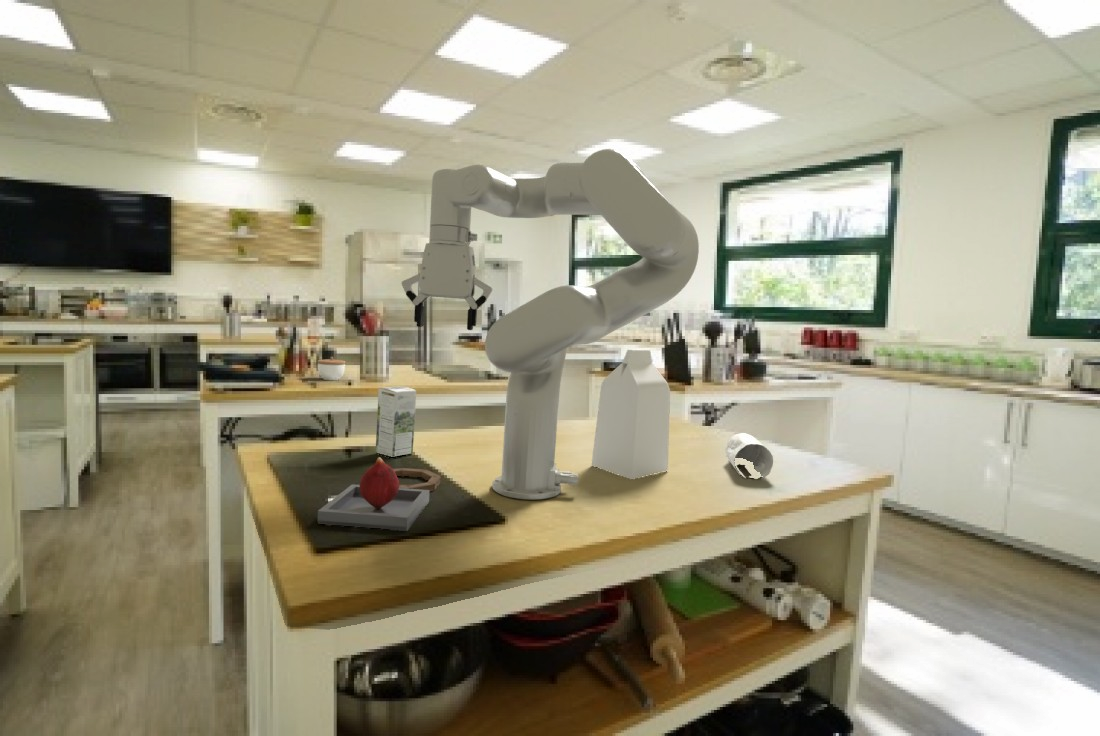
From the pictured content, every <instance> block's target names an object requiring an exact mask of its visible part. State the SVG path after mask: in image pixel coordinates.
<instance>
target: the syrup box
mask: <svg viewBox="0 0 1100 736" xmlns="http://www.w3.org/2000/svg"><path fill="white" fill-rule="evenodd" d="M377 392H378V395H377V412H376V413H377V414H376V415H377V416H376V417H377V418H376V434H375V435H376V436H375V453H376V452H377V453H380V454H384V455H388V456H391V457H395V456H400V455H406V454H411V455H413V454H414V439H415V437H414V436H415V421H416V404H417V390H416V389H414V388H411V387H408V386H392V387H391V386H389V387H378V391H377ZM406 456H407V455H406Z"/></svg>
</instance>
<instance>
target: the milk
mask: <svg viewBox="0 0 1100 736" xmlns="http://www.w3.org/2000/svg"><path fill="white" fill-rule="evenodd" d="M651 353H652V352H651V350H650V349H649V350H648V349H627V350H626V352H625V355H624V357H623V360H622V363H620V364H619V365H618V366H617V367H616V368H615V369H614V370H613V371H611V372H610V373H609V374H608V375H606V377H605V378H604V379H603V381H602V382H601V386H600V392H599V401H598V409H597V418H596V427H595V433H594V434H595V435H594V440H593V441H594V442H593V450H592V459H591V465H592V466H595V467H599V468H601V469H604V470H607V471H610V472H613V473H615V474H614V475H616V474H619V475H621V476H620V477H622V476H624V477H623V478H625V477H627V478H626V479H628V478H630V479H629V480H631V479H633V480H635V479H634V478H638V477H642V476H646V475H650V474H654V473H658V472H662V471H666V470H668V471H669V445H670V443H669V442H670V408H671V407H670V405H671V389H670V386H669V383H668V382H667V380H666V379H665V378H664V376H663V375H662V374H661V373H660V371H659V370H658V369H657V367H656V366H655V364H654V363H653V359H652V354H651ZM592 466H591V467H592ZM595 467H594V468H595ZM601 469H600V470H601ZM604 470H603V471H604ZM607 471H606V472H607ZM610 472H609V473H610ZM613 473H612V474H613ZM619 475H618V476H619ZM642 478H643V477H642ZM638 479H639V478H638Z"/></svg>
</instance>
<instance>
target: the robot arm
mask: <svg viewBox="0 0 1100 736" xmlns="http://www.w3.org/2000/svg"><path fill="white" fill-rule="evenodd" d="M430 196H431V200H430V217H429V218H430V219H429V220H430V221H429V240H428V242H427V243H426V242H425V245H424V251H423V254H422V259H421V265H420V266H421V267H420V273H418V274H415V275H413V276H411V277H409V278H406V279H404V280H402V281H401V286H402V288H403V291H404V292H405V295H406V297H407V298H408V299H409V300H410V302H411V303H412V304H413V305H414V314H413V316H414V317H413V321H414V323H416V327H419V328H421V327H424V326H425V311H426V307H425V305H424V303H425V301H427V300H428V298H429V297H431V298H432V297H433V298H445V299H459V300H461V299H463V300H465V302H466V303H467V304H468V305H469V309H467V319H466V320H467V321H466V325H467V326H466V330H468V331H472V330H473V329H474V327H477V320H478V319H477V318H478V317H477V315H478V309H479V308H481V306H482V305H484V304H485V303H486V302H487V300H488V299H489V297H490V295H491V293H492V292H493V287H492V286H491V285H488V284H487V283H485V282H484V281H481V280H480V279H478V278H477V277H476V259H475V251H474V247H472V246H470V245H471V243H472V242H474V241H475V242H477V241H478V234H477V233H474V232H472V231H471V220H472V218H471V217H472V208H474V209H477V210H479V211H482V212H485V213H489V214H491V215H493V216H497V217H501V218H508V219H509V218H512V219H513V218H515V219H522V218H523V219H536V218H539V219H540V218H546V217H554V216H556V215H558V216H559V215H567V216H568V215H576V216H577V215H579V216H581V215H583V216H585V215H586V216H589V215H590V216H592V215H593V216H601V217H602V218H603V219H604V220H605V221H606V223H608V224H609V225H610V227H611V228H612V230H614V231H615V233H617V235H618V236H619V237H620V238H621V239H622V240H623V241H624V242H625V243H626V245H628V246H629V248H631V250H633V251H634V252H635V253H636V254H637V255H638V256H641V259H639V260H638V261H637V262H635V263H633V264H631V265H629V266H626V267H624V268H621V269H619V270H617V271H616V272H614V273H612V274H611V275H609V276H607V277H605V278H603V279H601V280H599V281H598V282H594V283H593V284H591V285H588V286H578V285H571V284H569V285H568V284H567V285H560V286H557V287H554V288H552V289H549V290H547V291H545V292H543V293H541V294H539V295H538V296H536V297H534V298H533V299H531V300H529V301H527V302H526V303H523V304H522V305H520V306H518V307H516V308H515V309H512V310H511V311H509V312H507V313H506V314H504V315H503V316H501V317H500V318H499V319H497V320H496V321H494V323H492V325H491V327H489V329H488V331H487V334H486V337H485V338H484V339H485V340H484V350H485V354H486V357H487V359H488V361H489V362H490V363H491V364H492V365H493V366H494V367H495V368H497V369H498V370H500V371H503V372H506V373H510V375H509V378H508V382H507V388H506V399H505V413H504V427H503V430H504V432H503V446H502V447H503V448H502V462H501V463H502V466H501V476H500V475H499V476H498V477H495V478H494V479H493V480H492V487H491V488H492V489H493V491H495V492H496V493H497V494H499V495H500V496H501V495H502V496H504V497H508V498H512V499H518V500H531V501H533V500H547V499H550V498H554V497H557V496H558V495H559V494H561V492H562V484H565V485H566V484H567V485H569V486H570V485H571V486H572V485H573V486H578V485H579V476H580V475H579V474H577V473H573V471H561V470H560V469H557V463H556V462H555V460H556V459H555V458H556V445H557V444H556V443H557V431H558V417H559V415H558V414H559V403H560V393H561V391H560V390H561V381H562V376H563V370H564V365H565V361H566V356H567V349H568V348H569V347H572V346H574V345H575V346H579V345H589V344H592V343H595V342H597V341H600V340H601V339H602V338H604V337H606V336H607V335H610V334H611V333H613V332H615V331H617V330H619V329H621V328H622V327H625V326H627V325H628V324H630V323H632V322H634V321H636V320H637V319H639V318H641V317H643V316H645V315H646V314H649V313H650V312H652V311H653V310H656V309H658V308H659V307H661V306H663V305H664V304H666V303H668V302H670V301H671V300H672V299H674V298H675V297H676V296H677V295H679V293H680V292H682V290H683V289H685V287H686V286H687V284H688V283H689V282H690V281H691V279H692V276H693V274H694V273H695V270H696V269H697V268H696V267H697V263H698V259H699V254H700V253H699V251H700V250H699V249H700V248H699V246H700V245H699V244H700V243H699V238H698V233H697V231H696V228H695V226H694V225H693V223H692V222H691V220H689V219H688V218H687V217H686V216H685V215H684V214H683V213H682V212H681V211H680V210H678V208H676V206H674V205H673V204H672V203H671V202H670V201H669V200H668V199H667V198H666V197H665V196H664V195H663V194H662V193H661V192H660V190H658V189H657V187H655V185H654V184H652V182H650V180H649V179H648V178H647V177H646V175H645V173H644V171H643V170H642V169H641V168H640V166H638V164H636V162H634V161H633V159H631V158H630V157H629V156H628V155H627V154H625V153H624V152H622V151H620V150H617V149H611V148H604V149H601V150H600V149H599V150H597V151H595V152H593V153H592V154H591V155H589V156H588V157H587V158H586V159H585V161H583V162H557V163H554V164H552V165H551V166H550V167H549V168H548V169H547V171H546V174H545V176H541V177H534V178H532V177H531V178H529V177H528V178H513V177H509V176H507V175H505V174H503V173H501V172H499V171H498V170H495V169H493V168H491V167H489V166H487V165H484V164H472V165H468V166H465V167H461V168H456V169H454V168H441V169H439V170H436V171H434V173H433V174H432V179H431V195H430ZM418 283H419V285H418V286H419V287H418V289H419V294H416V293H415V292H414V291H413V288H412V287H413V285H415V284H418ZM476 287H477V288H479V289H481V290H482V294H481V295H480V297H478V298H477V299H475V297H474V296H475V292H476V291H475V290H476Z"/></svg>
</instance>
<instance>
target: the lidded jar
mask: <svg viewBox="0 0 1100 736" xmlns="http://www.w3.org/2000/svg"><path fill="white" fill-rule="evenodd" d="M345 369H346V360H342V359H334V356H330V359H329V358H328V359H327V358H326V359H318V360H317V370H318V374H319V376H320V377H321V378H322V379H323V381H339V380H340V379H341V378H342V377H343V375H344V374H345ZM338 379H339V380H338Z"/></svg>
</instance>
